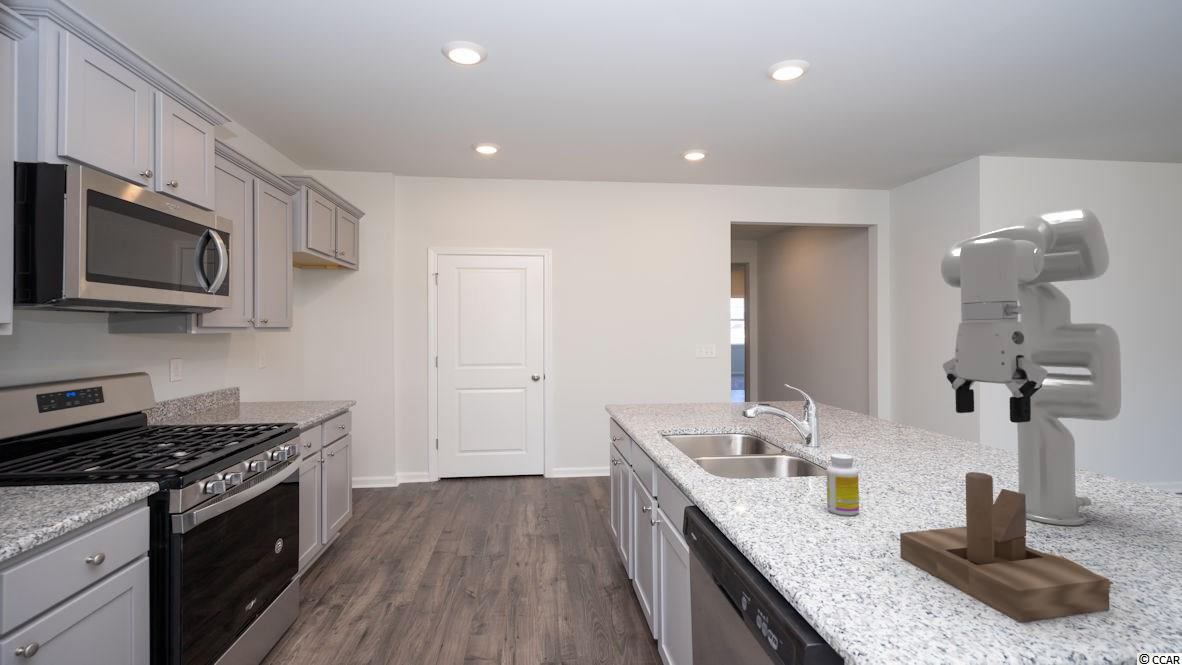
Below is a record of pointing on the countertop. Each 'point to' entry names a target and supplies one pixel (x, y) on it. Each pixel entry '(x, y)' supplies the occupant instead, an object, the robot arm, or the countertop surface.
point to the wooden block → (994, 522)
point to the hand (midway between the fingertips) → (991, 416)
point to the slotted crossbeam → (1008, 577)
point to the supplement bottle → (842, 486)
